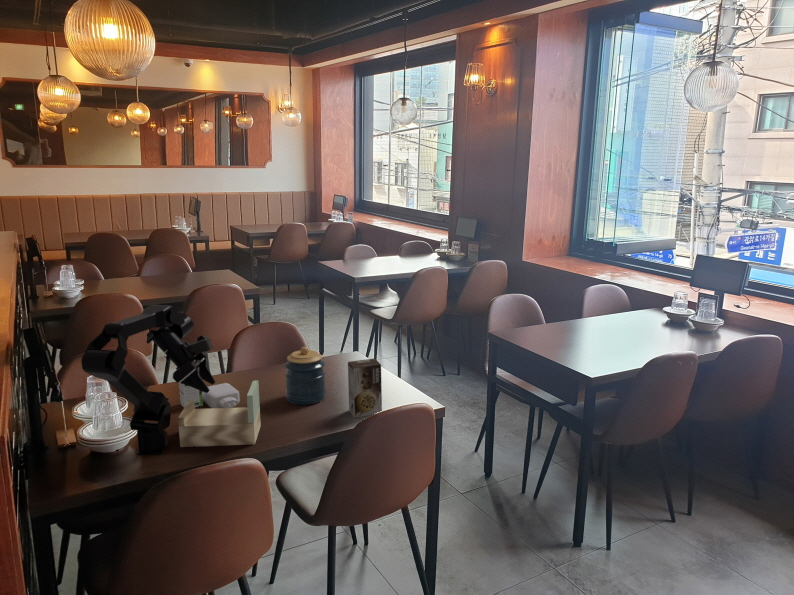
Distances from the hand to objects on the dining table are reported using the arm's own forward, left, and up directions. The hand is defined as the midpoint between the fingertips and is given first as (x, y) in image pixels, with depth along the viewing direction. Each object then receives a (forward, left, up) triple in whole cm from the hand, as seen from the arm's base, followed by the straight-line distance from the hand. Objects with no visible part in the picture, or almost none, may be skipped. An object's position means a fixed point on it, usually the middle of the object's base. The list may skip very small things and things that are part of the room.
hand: (211, 387), depth 171 cm
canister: (+24, +26, -14) cm, 38 cm away
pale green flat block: (+12, -1, -8) cm, 15 cm away
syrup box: (-12, +23, -14) cm, 29 cm away
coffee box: (+43, +13, -14) cm, 47 cm away
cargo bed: (+2, -1, -14) cm, 14 cm away
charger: (-1, +22, -15) cm, 26 cm away
